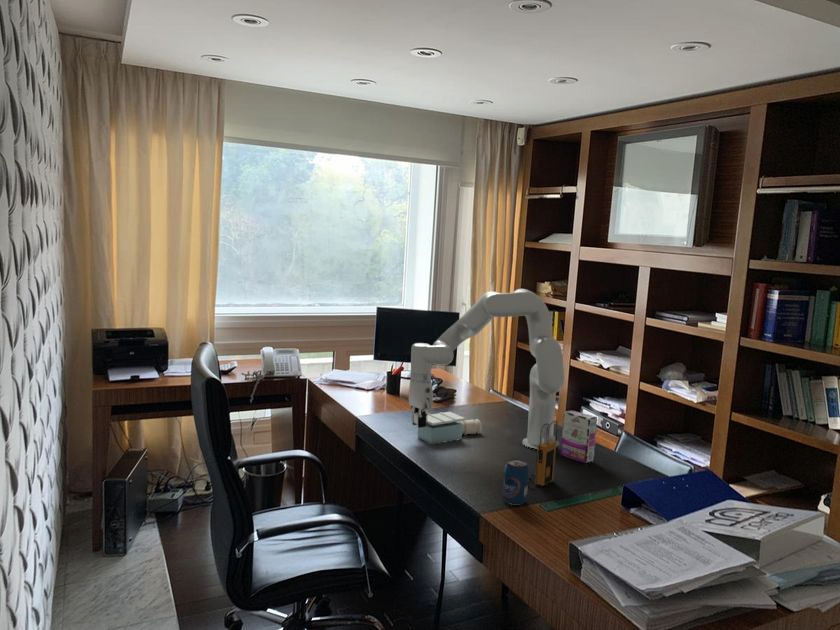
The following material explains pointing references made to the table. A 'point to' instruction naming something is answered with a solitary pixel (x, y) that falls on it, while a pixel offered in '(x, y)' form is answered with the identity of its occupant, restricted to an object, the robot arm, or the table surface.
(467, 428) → the gavel
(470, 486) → the table surface
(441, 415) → the lid
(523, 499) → the soda can
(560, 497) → the table surface
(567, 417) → the candy bar box
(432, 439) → the tub
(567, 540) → the table surface
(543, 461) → the multimeter
